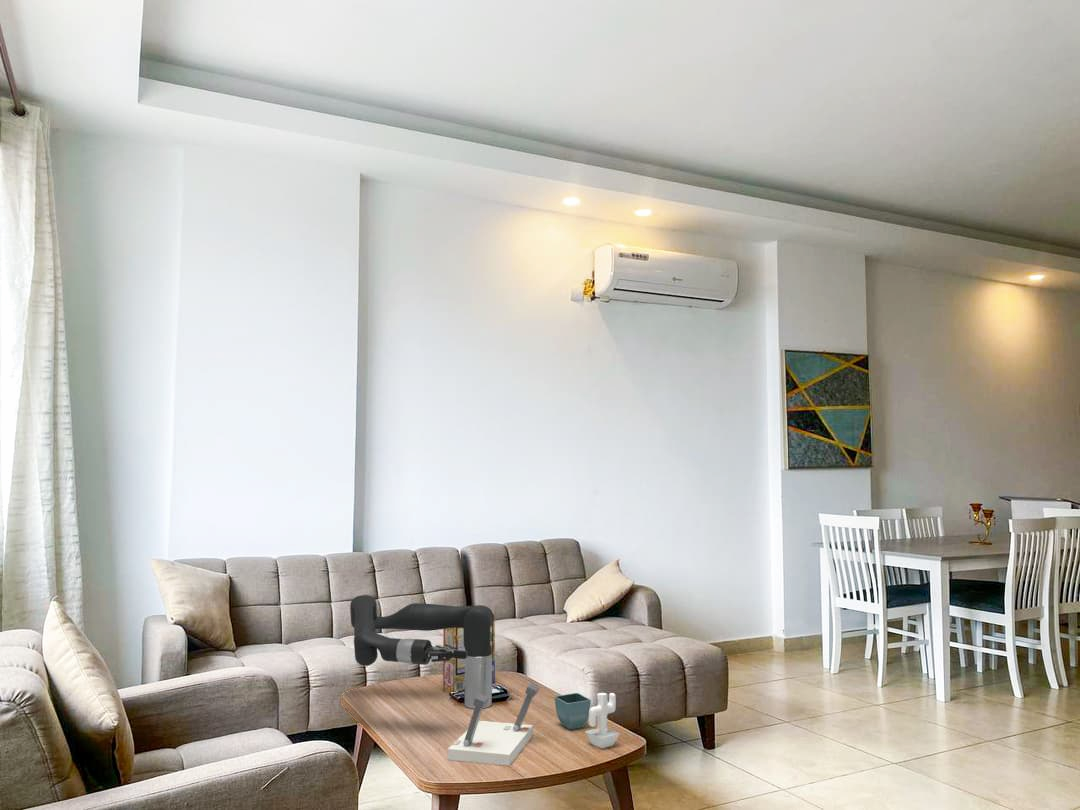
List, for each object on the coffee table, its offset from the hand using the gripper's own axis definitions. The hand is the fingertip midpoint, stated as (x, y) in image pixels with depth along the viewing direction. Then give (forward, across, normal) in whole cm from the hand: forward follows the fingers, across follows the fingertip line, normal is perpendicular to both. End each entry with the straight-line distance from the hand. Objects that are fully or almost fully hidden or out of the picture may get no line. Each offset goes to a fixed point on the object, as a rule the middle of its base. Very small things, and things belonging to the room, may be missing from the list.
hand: (466, 655), depth 255 cm
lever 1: (+6, +16, -21) cm, 27 cm away
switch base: (+11, +8, -24) cm, 28 cm away
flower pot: (+30, -16, -24) cm, 42 cm away
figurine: (+42, -2, -24) cm, 49 cm away
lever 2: (+16, 0, -21) cm, 26 cm away
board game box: (-16, -50, -24) cm, 58 cm away
